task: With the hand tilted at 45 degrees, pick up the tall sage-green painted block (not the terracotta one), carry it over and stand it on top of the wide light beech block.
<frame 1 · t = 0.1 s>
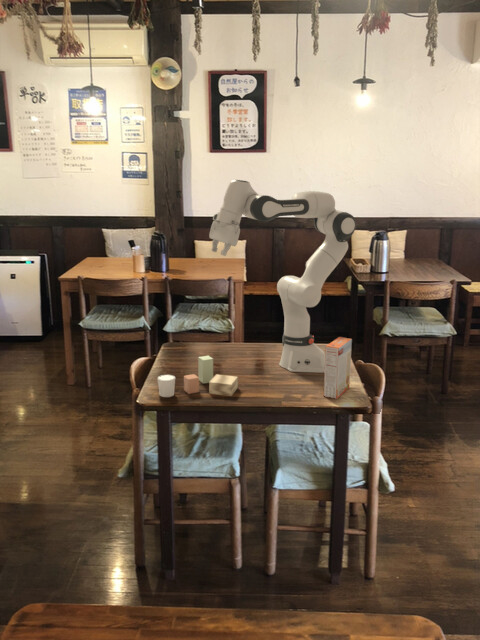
hand: (218, 253, 244), 52 cm above the table, tool tilted 20°, fingers open, 8 cm apart
cracker box: (336, 392, 243), on the table
beech base: (223, 391, 243), on the table
sage block: (205, 380, 253), on the table
terracotta block: (191, 391, 243), on the table
shot glass: (166, 394, 239), on the table
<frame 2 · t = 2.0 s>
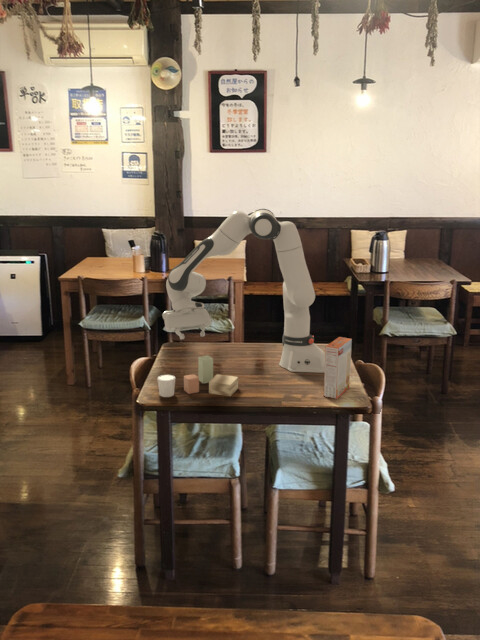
hand: (192, 337, 259), 15 cm above the table, tool tilted 45°, fingers open, 8 cm apart
nothing on the table moved.
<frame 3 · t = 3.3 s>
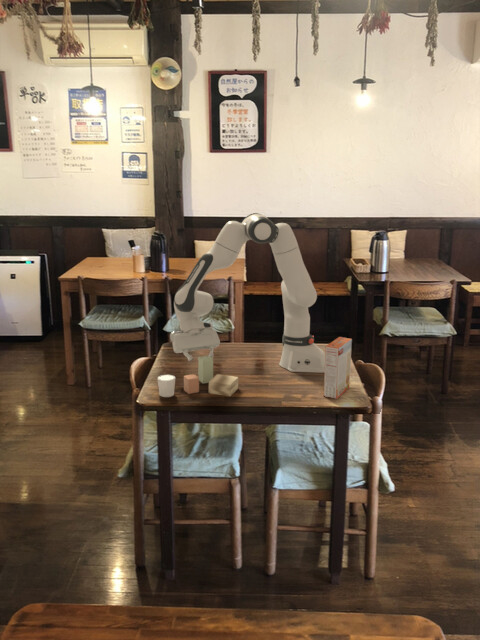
hand: (201, 358, 254), 8 cm above the table, tool tilted 45°, fingers open, 8 cm apart
nothing on the table moved.
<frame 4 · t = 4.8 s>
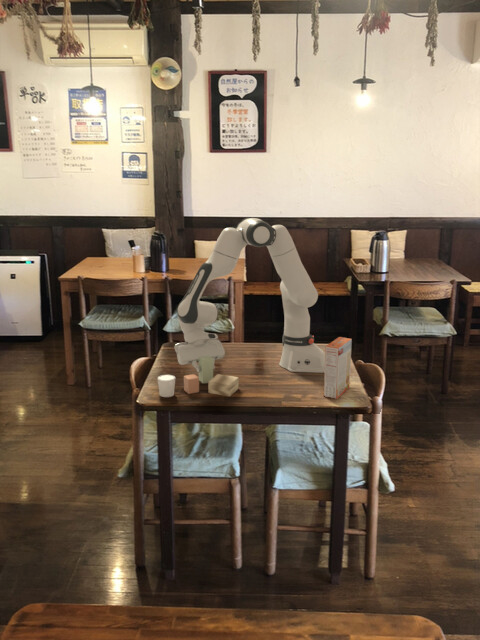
hand: (206, 370, 251), 5 cm above the table, tool tilted 45°, fingers closed on sage block, 4 cm apart
sage block: (205, 380, 253), on the table, touching gripper
everything else where it was.
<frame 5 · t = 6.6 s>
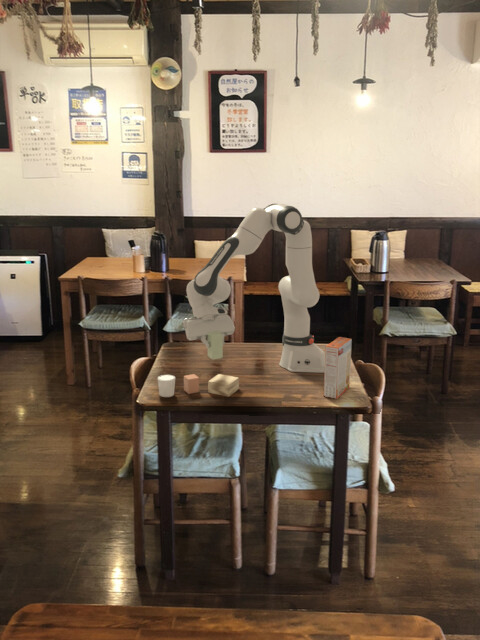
hand: (215, 345, 243), 17 cm above the table, tool tilted 45°, fingers closed on sage block, 4 cm apart
sage block: (215, 357, 245), point 12 cm above the table, touching gripper
everything else where it was.
when the fingers open (12 cm above the table, at t = 8.7 s): sage block drops 2 cm, point 5 cm above the table.
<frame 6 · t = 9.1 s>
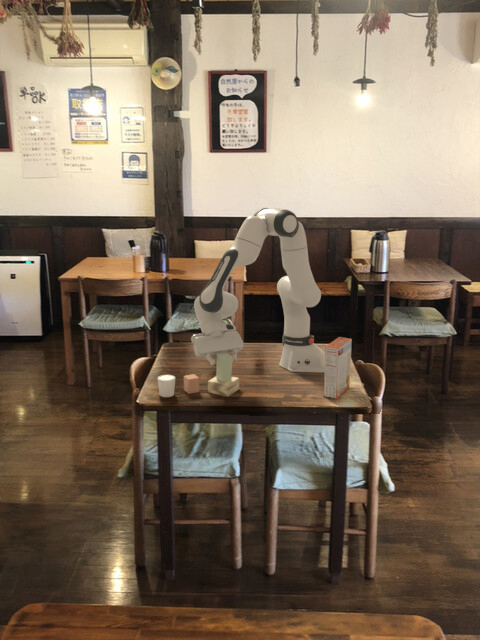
hand: (224, 362, 240), 12 cm above the table, tool tilted 45°, fingers open, 8 cm apart
sage block: (223, 379, 242), point 5 cm above the table
everything else where it was.
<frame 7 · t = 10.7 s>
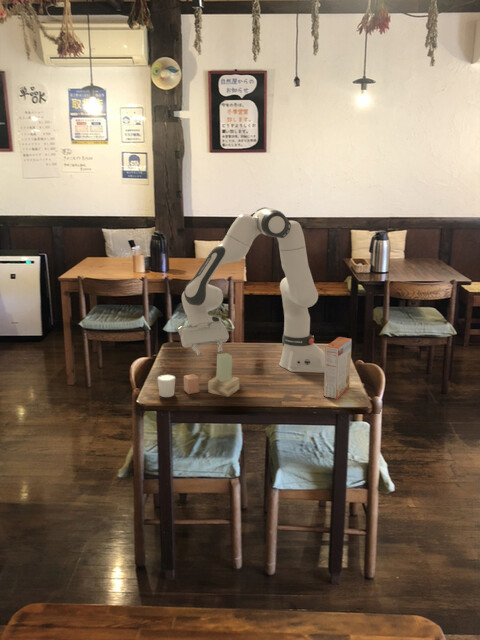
hand: (210, 353, 250), 12 cm above the table, tool tilted 45°, fingers open, 8 cm apart
beech base: (223, 391, 243), on the table, touching sage block
sage block: (223, 379, 242), point 5 cm above the table, touching beech base
everything else where it was.
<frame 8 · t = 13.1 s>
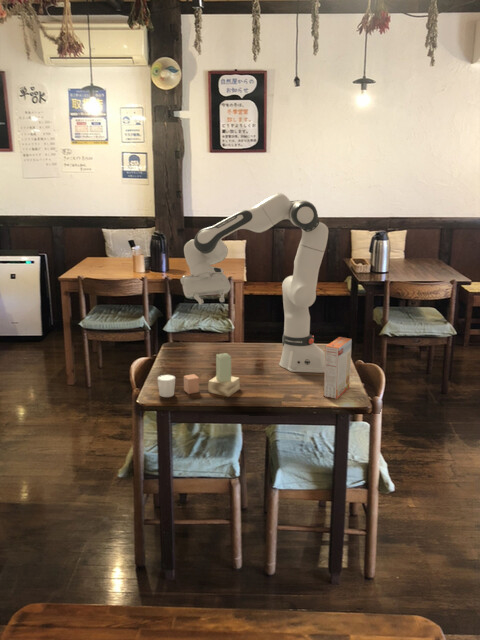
hand: (212, 302, 252), 31 cm above the table, tool tilted 45°, fingers open, 8 cm apart
beech base: (224, 391, 244), on the table
sage block: (223, 379, 242), point 5 cm above the table
everything else where it was.
at the end: sage block inside the target area on the beech base (0.4 cm from its centre), point 5.1 cm above the beech base's base; sage block tilted 1°; the gripper is holding nothing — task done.
